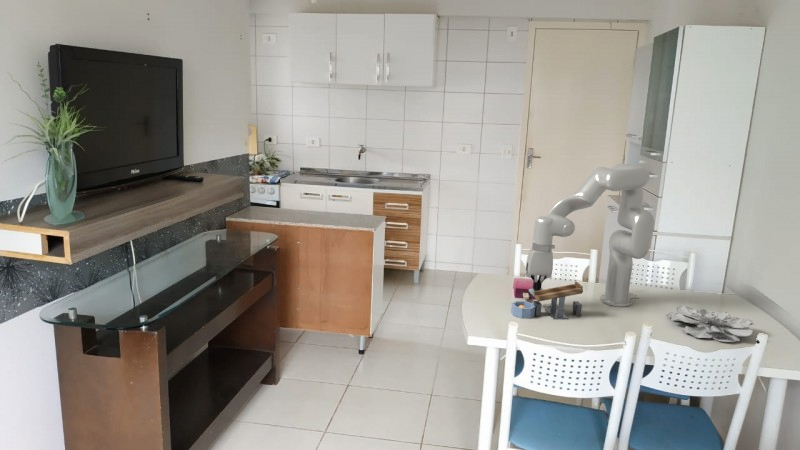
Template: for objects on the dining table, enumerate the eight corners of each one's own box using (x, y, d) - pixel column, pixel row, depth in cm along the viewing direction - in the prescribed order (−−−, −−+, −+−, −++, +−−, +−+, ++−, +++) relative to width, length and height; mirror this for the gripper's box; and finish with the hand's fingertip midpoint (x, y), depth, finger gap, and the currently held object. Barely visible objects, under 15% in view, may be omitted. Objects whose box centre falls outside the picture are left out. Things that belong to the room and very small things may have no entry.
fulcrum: (573, 310, 238) (576, 289, 236) (583, 319, 229) (586, 297, 227) (530, 309, 236) (532, 288, 234) (538, 319, 227) (540, 297, 225)
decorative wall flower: (706, 296, 244) (775, 322, 217) (703, 311, 245) (772, 339, 218) (652, 303, 232) (719, 332, 205) (650, 319, 233) (715, 350, 206)
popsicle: (516, 291, 244) (513, 277, 263) (515, 302, 245) (512, 287, 264) (538, 293, 243) (534, 279, 262) (537, 304, 244) (533, 289, 263)
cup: (529, 310, 236) (530, 301, 235) (536, 318, 227) (537, 308, 226) (509, 310, 235) (509, 300, 234) (515, 318, 226) (516, 308, 225)
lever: (570, 283, 241) (570, 276, 240) (583, 294, 228) (582, 286, 227) (528, 291, 240) (528, 283, 239) (539, 302, 227) (538, 294, 226)
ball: (519, 302, 231) (515, 308, 232) (522, 305, 228) (517, 311, 229) (525, 306, 232) (521, 313, 233) (528, 309, 229) (523, 316, 229)
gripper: (556, 245, 237) (551, 288, 241) (520, 244, 235) (516, 287, 239) (563, 250, 229) (557, 294, 233) (526, 249, 228) (521, 293, 232)
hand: (536, 290), depth 236 cm, fingers closed
